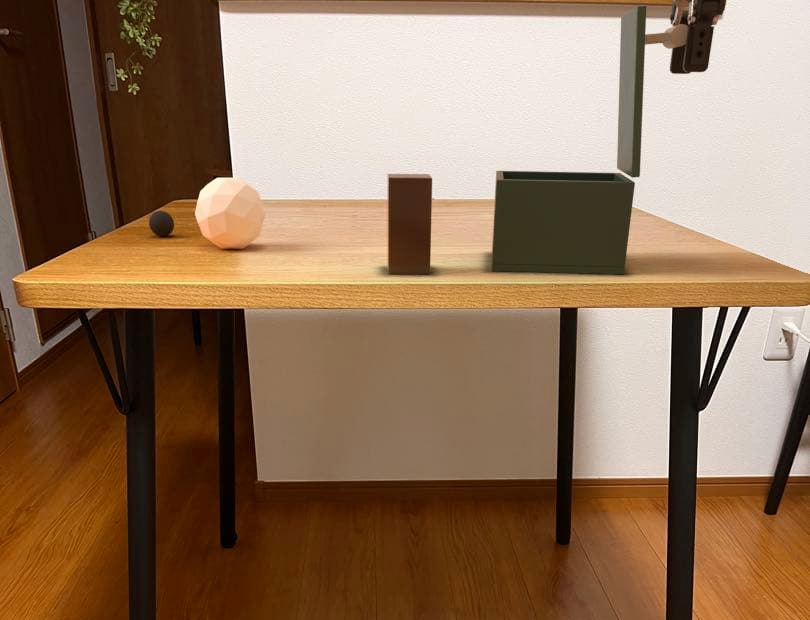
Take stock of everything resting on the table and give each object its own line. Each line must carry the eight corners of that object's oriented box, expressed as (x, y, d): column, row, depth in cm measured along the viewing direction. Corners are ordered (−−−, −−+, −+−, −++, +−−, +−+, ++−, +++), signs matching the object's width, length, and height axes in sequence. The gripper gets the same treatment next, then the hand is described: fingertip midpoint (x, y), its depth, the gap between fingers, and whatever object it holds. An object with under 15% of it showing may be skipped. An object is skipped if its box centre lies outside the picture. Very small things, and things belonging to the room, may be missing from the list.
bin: (491, 270, 90) (496, 179, 86) (491, 252, 100) (496, 170, 96) (624, 274, 89) (635, 182, 85) (610, 255, 99) (620, 172, 95)
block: (427, 266, 92) (429, 174, 88) (430, 274, 88) (432, 177, 84) (387, 266, 92) (387, 173, 87) (388, 274, 88) (388, 177, 84)
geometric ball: (252, 272, 103) (284, 217, 98) (188, 252, 98) (218, 193, 93) (240, 231, 106) (270, 176, 102) (178, 209, 102) (206, 151, 97)
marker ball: (180, 236, 109) (177, 210, 108) (161, 239, 107) (158, 212, 106) (164, 233, 111) (161, 208, 109) (145, 236, 108) (142, 210, 107)
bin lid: (637, 6, 78) (699, -1, 78) (621, 15, 89) (675, 10, 88) (631, 177, 85) (688, 173, 84) (616, 168, 95) (668, 164, 94)
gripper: (784, -162, 71) (745, 72, 79) (740, -123, 84) (710, 74, 91) (690, -161, 72) (660, 71, 79) (660, -123, 84) (637, 74, 92)
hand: (687, 72), depth 85 cm, fingers open, 6 cm apart
